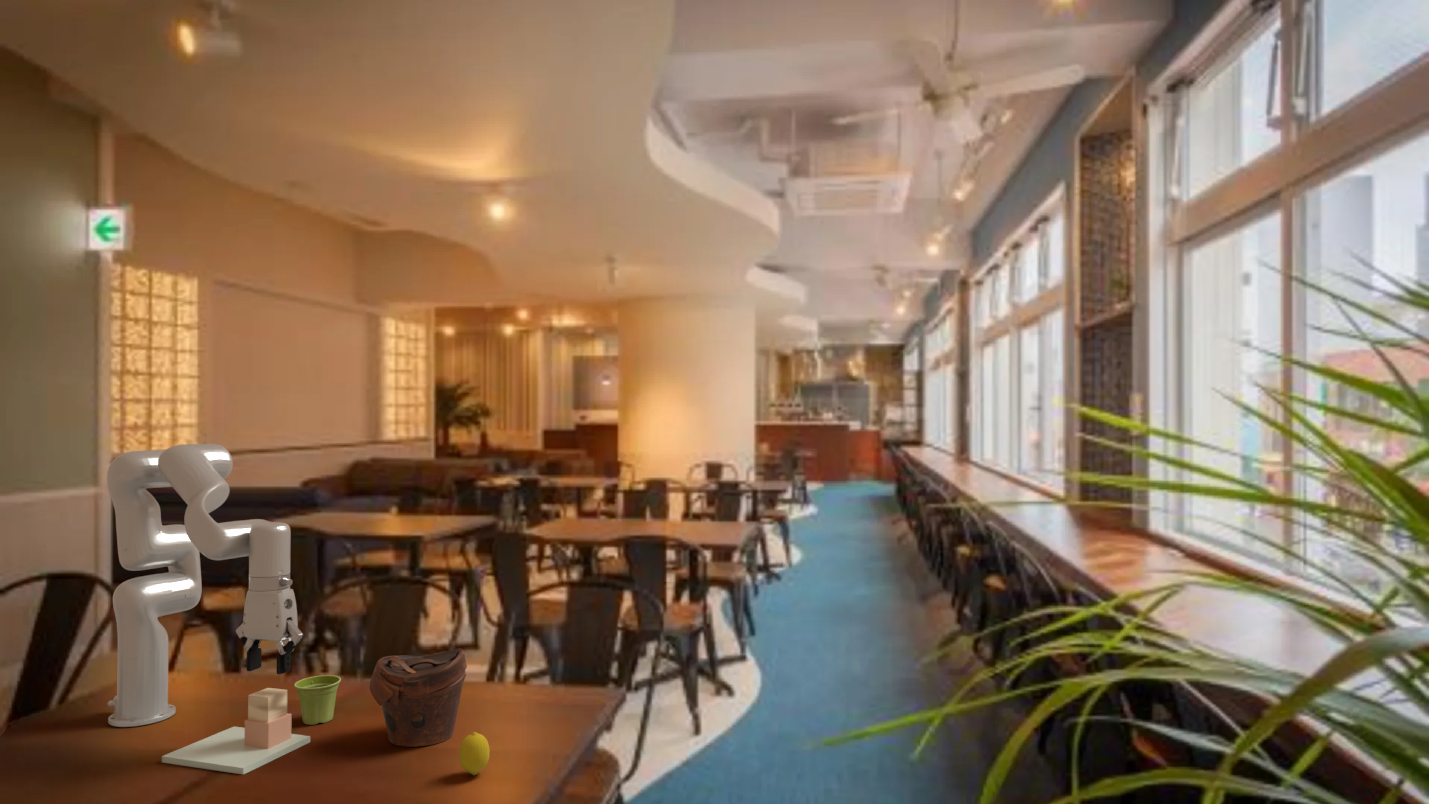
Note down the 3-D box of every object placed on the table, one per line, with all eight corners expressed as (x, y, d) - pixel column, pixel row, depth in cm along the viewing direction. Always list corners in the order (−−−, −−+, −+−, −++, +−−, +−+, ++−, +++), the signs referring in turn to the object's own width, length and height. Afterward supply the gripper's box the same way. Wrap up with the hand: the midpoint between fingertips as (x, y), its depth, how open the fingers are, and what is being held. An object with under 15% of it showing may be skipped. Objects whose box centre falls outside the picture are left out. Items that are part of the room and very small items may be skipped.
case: (353, 738, 179) (355, 652, 179) (440, 715, 193) (442, 635, 194) (393, 763, 167) (395, 671, 167) (483, 736, 181) (485, 651, 182)
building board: (161, 762, 167) (161, 756, 167) (234, 732, 183) (234, 726, 183) (243, 774, 161) (243, 768, 161) (310, 742, 177) (310, 736, 177)
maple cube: (267, 711, 177) (267, 687, 177) (287, 714, 176) (287, 689, 176) (248, 720, 173) (248, 695, 173) (268, 722, 171) (268, 697, 171)
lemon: (462, 769, 163) (462, 727, 163) (491, 768, 163) (492, 726, 164) (456, 781, 157) (456, 738, 158) (486, 780, 158) (486, 737, 158)
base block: (244, 745, 172) (244, 720, 172) (268, 735, 178) (268, 710, 178) (268, 748, 170) (268, 723, 170) (291, 738, 176) (291, 713, 176)
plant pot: (322, 729, 184) (323, 689, 185) (284, 726, 186) (284, 686, 187) (349, 714, 194) (349, 676, 194) (312, 712, 195) (313, 674, 196)
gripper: (317, 582, 176) (317, 669, 175) (250, 578, 181) (249, 662, 181) (290, 589, 169) (289, 680, 168) (220, 584, 174) (219, 672, 173)
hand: (268, 670), depth 174 cm, fingers open, 6 cm apart
